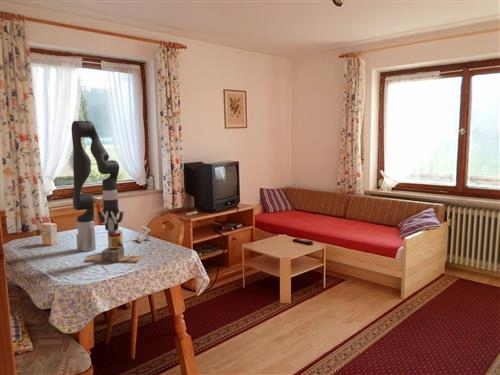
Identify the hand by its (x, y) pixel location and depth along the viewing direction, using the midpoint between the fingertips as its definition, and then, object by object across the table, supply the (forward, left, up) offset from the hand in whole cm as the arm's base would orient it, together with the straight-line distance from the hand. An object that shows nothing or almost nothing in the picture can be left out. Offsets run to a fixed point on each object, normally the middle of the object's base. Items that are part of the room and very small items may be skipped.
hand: (112, 230), depth 207 cm
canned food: (-5, +15, -17) cm, 23 cm away
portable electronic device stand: (+3, +40, -17) cm, 43 cm away
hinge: (0, 0, -17) cm, 17 cm away
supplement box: (-53, +29, -17) cm, 63 cm away
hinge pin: (0, 0, -2) cm, 2 cm away
